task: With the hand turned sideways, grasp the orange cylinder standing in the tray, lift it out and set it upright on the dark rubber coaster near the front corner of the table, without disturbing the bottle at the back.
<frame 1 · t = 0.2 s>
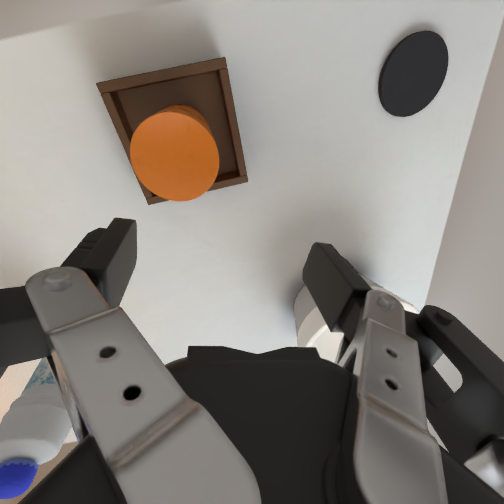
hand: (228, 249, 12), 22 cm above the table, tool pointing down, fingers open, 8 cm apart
tray: (183, 135, 28), on the table
bowl: (329, 298, 47), on the table
coaster: (411, 77, 29), on the table
bottle: (84, 326, 40), on the table
orange cylinder: (183, 135, 28), resting on tray
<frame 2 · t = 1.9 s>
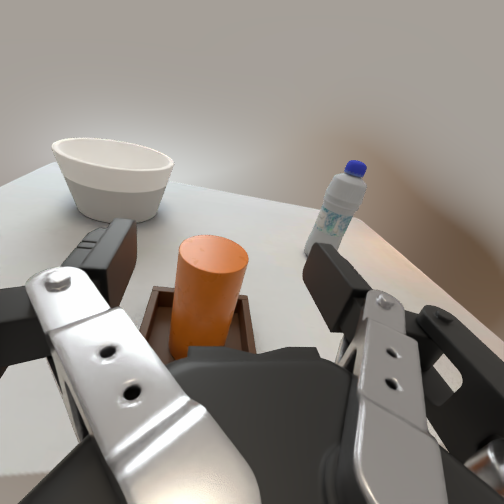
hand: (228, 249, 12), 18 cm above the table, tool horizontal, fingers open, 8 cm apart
tray: (196, 345, 28), on the table
bowl: (119, 208, 51), on the table
bottle: (316, 258, 53), on the table
orange cylinder: (197, 342, 28), resting on tray
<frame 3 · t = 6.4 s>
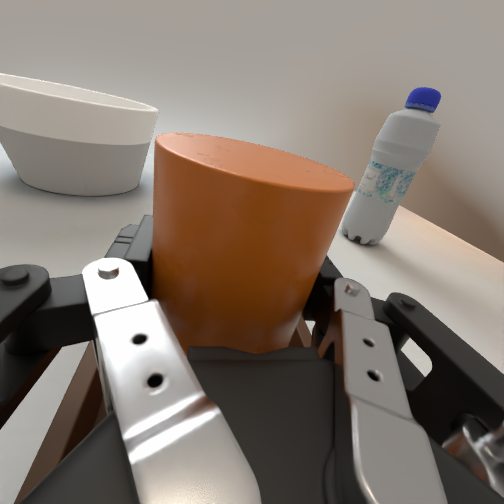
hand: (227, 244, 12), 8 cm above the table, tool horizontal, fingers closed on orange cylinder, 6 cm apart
tray: (207, 391, 14), on the table
bowl: (85, 179, 36), on the table
bottle: (357, 239, 39), on the table
orange cylinder: (208, 386, 14), point 1 cm above the table, touching tray, gripper
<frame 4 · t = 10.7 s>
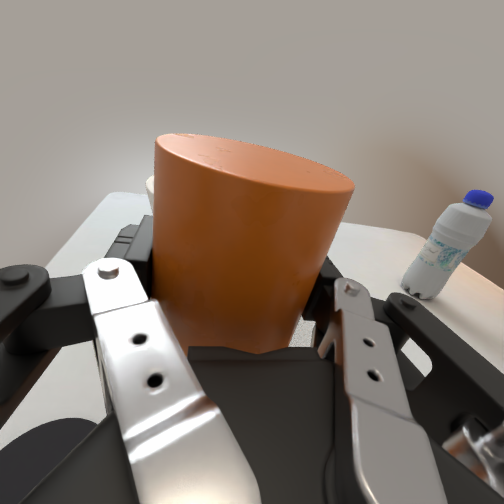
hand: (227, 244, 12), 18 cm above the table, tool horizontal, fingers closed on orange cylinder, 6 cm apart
coaster: (43, 489, 16), on the table
bottle: (415, 292, 49), on the table
orange cylinder: (208, 386, 14), point 10 cm above the table, touching gripper
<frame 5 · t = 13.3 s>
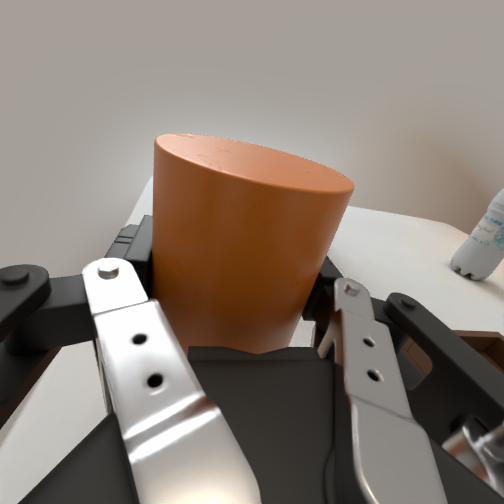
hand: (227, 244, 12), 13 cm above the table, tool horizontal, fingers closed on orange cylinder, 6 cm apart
tray: (490, 401, 23), on the table
bottle: (464, 273, 49), on the table
orange cylinder: (208, 386, 14), point 5 cm above the table, touching gripper
when the fingers open (8 cm above the table, at t = 15.1 s): orange cylinder stays where it is, resting on coaster.
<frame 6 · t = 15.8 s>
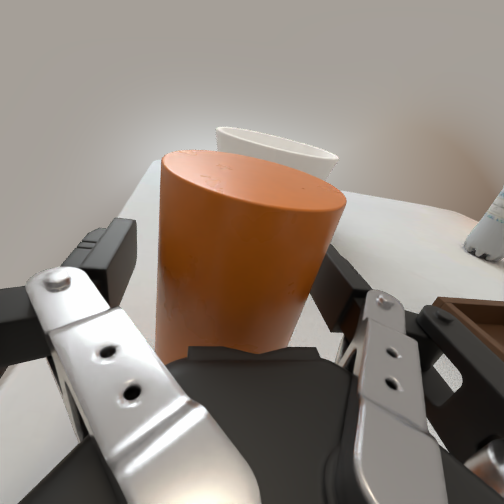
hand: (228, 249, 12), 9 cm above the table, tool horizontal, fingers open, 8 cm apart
bowl: (261, 207, 44), on the table
bottle: (478, 255, 47), on the table
orange cylinder: (210, 386, 14), point 1 cm above the table, touching coaster
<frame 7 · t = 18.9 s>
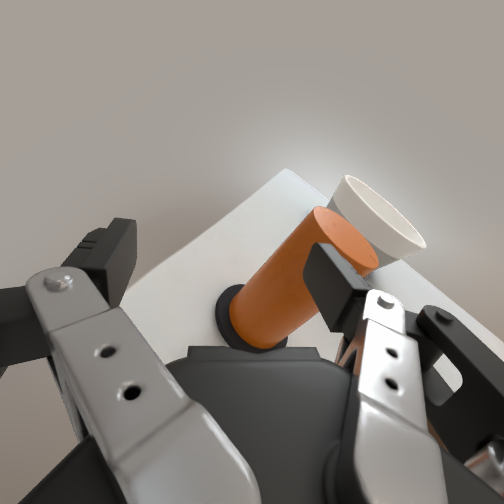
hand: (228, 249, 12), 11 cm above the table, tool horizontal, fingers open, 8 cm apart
bowl: (341, 247, 52), on the table
coaster: (251, 321, 25), on the table
orange cylinder: (255, 319, 25), point 1 cm above the table, touching coaster
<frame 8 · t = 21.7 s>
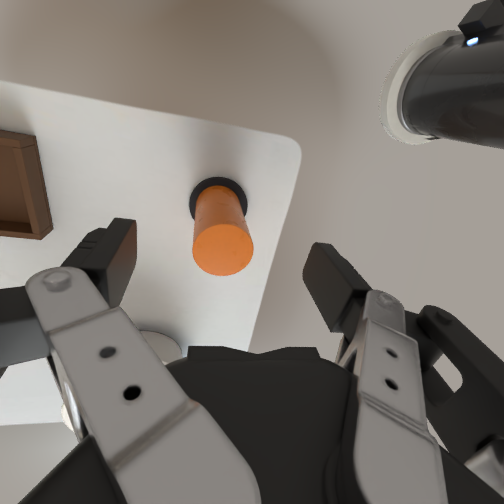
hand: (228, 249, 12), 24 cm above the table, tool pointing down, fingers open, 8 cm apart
bowl: (144, 354, 49), on the table
coaster: (218, 205, 36), on the table
orange cylinder: (218, 206, 35), point 1 cm above the table, touching coaster
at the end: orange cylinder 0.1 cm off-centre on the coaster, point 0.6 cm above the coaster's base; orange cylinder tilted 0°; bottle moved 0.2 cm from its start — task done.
